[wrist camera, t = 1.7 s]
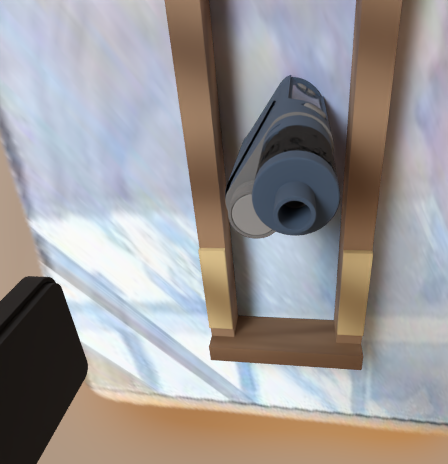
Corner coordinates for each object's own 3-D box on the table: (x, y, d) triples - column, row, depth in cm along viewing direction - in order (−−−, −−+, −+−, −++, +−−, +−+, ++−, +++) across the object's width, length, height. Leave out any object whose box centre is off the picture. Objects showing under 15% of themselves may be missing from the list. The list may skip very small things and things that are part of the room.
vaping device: (335, 91, 20) (371, 204, 10) (275, 174, 22) (253, 331, 12) (291, 61, 19) (279, 147, 9) (235, 150, 22) (180, 291, 12)
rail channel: (164, -100, 17) (140, -114, 14) (407, -135, 15) (428, -159, 13) (218, 327, 29) (211, 359, 27) (355, 334, 27) (361, 369, 25)
